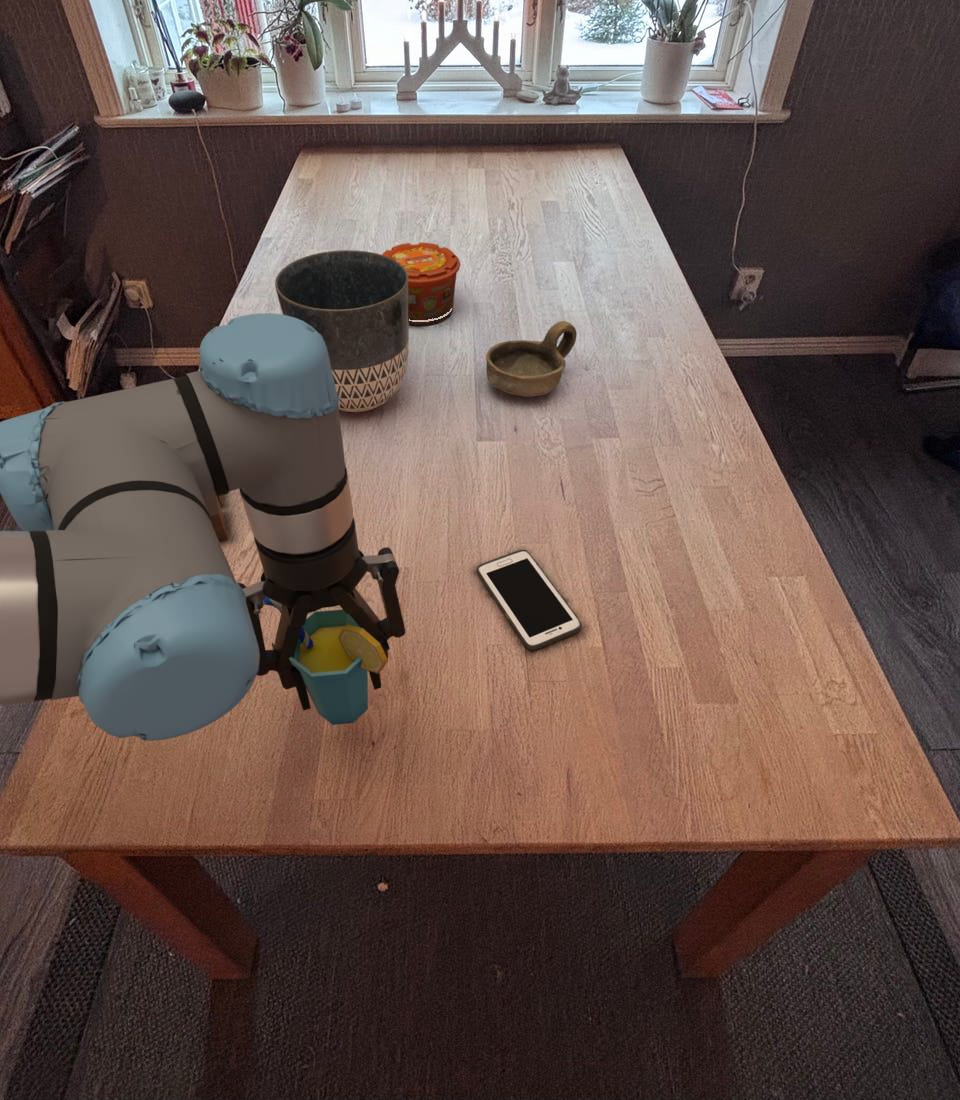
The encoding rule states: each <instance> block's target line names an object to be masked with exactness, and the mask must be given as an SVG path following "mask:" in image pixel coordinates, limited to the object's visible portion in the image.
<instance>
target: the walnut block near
mask: <svg viewBox="0 0 960 1100" xmlns="http://www.w3.org/2000/svg"><path fill="white" fill-rule="evenodd" d="M204 502H205V504H206V507H207V510H208V512H209V515H210V518H211V520H212V523H213V526H214V530H215V533H216V535H217V538H218V540H219V542H226V541H229V537H228V531H227V530H228V529H227V525H226V519H225V515H224V512H223V509H222V507H221V506H220V503H219V500H218V497H214V498H211V499H207V500H204Z"/></svg>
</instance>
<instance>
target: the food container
mask: <svg viewBox="0 0 960 1100" xmlns="http://www.w3.org/2000/svg"><path fill="white" fill-rule="evenodd" d="M381 255H384V256H387V257H389V258H391V259H393V260H395V261H397V262H398V263H400V264H401V265H402V266H403V267H404V268H405V269H406V271H407V273H408V280H409V319H410V320H428V319H432V318H433V319H434V318H438V317H440V316H443V315H444V314H446V313H447V312H449V311H450V309H451V308H452V306H453V307H454V302H455V301H454V300H455V291H456V283H457V274H458V272H459V271H460V267H461V261H460V258H459V257H458V256H457V255H456V254H455V252H454V251H453V250H451V249H450V248H448V247H446V246H443V247H440V246H439V244H438V243H437V244H436V243H431V242H419V243H417V244H411V243H410V242H407V243H401V244H397V245H395V246H392V247H391V249H386V250H385V251H383V253H382V254H381ZM452 313H453V309H452V311H451V312H450V313H449V314H448V315H447V316H445V317H443V318H441V319H438V320H434V321H429V322H412V321H409V326H416V327H423V326H424V327H426V326H431V325H438V324H441V323H442V322H444V321H445V320H447V319H448V318H450V317H451V315H452Z"/></svg>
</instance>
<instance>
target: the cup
mask: <svg viewBox="0 0 960 1100" xmlns="http://www.w3.org/2000/svg"><path fill="white" fill-rule="evenodd" d="M263 606H268V607H269V606H271V607H273V608H275V609H276V610H278V612H279V613H280V614H281V612H282V608H283V605H282V604H280V603H278V602H276V601H274V600H272V599H270V598H268V597H265V598H264V599H263ZM388 659H389V658H388ZM388 659H387V657H386V655H385V653H384V651H383V649H382V646H381V644H380V643H379V642H378V641H377V640H376V639H374V638H373V637H372V636H371V635H370V634H369V633H368V632H366V631H365V630H364V629H363V628H360V627H359V625H358V624H357V623H356V622H355V621H354V619H353V618H352V617H351V616H350V615H349V614H346V613H345V611H344V610H343V609H342V608H341V609H330V610H317V611H314V612H311V613H310V615H309V616H307V618H306V621H305V625H304V626H302V628H301V632H300V636H299V640H298V644H297V648H296V651H295V655H294V658H292V657H290V658H289V660H290V662H291V663H292V665H293V666H295V667H296V668H297V670H299V671H300V673H301V676H302V679H303V682H304V684H305V686H306V689H307V693H308V696H310V699H311V701H312V704H313V706H314V707H315V709H316V711H317V713H318V715H319V716H320V717H322V718H323V719H324V720H325V721H326V722H328V723H330V725H332V726H336V725H345V724H346V725H347V724H354V723H355V722H356V721H357V720H358V719H360V717H361V716H362V715H364V713H365V712H366V711H368V709H369V683H368V680H369V679H368V676H369V675H368V674H369V671H371V672H374V673H377V674H378V673H380V672H381V671H383V670H384V668H385V666H386V665H387V663H388V662H389V660H388Z"/></svg>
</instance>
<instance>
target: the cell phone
mask: <svg viewBox="0 0 960 1100" xmlns="http://www.w3.org/2000/svg"><path fill="white" fill-rule="evenodd" d="M476 573H477V575H478V577H479V578H480V580H481V582H482V583H483V585H484V586H485V588H486V589H487V591H488V592H489V594H490V595H491V596H492V598H493V600H494V601H495V602H496V604H497V606H498V607H499V609H500V610H501V612H502V614H503V615H504V616H506V618H507V620H508V622H509V624H510V625H511V627H512V629H513V630H514V631H515V633H516V635H517V636H518V638H519V639H520V641H521V642H522V643H523V645H524V646H525V648H527V649H528V650H529V651H536V650H539V649H542V648H545V647H546V646H548V645H551V644H553V643H556V642H558V641H561V640H563V639H565V638H568V637H571V636H572V635H575V634H577V633H579V632H580V631H581V629H582V622H581V620H580V618H579V617H578V616H577V614H576V613H575V612H574V610H573V609H572V608H571V606H570V605H569V603H568V602H567V601H566V600H565V598H564V597H563V596H562V594H561V592H559V590H558V589H557V588H556V586H555V585H554V584H553V582H552V580H551V579H550V578H549V577H548V575H547V574H546V573H545V571H544V570H543V568H541V566H540V565H539V563H538V562H537V560H536V559H535V558H534V557H533V556H532V554H531V553H530V552H529V551H528V550H527V549H519V550H516V551H512V552H510V553H508V554H505V555H502V556H499V557H497V558H494V559H491V560H488V561H485V562H483V563H481V564H479V565H478V566H477V567H476Z"/></svg>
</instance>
